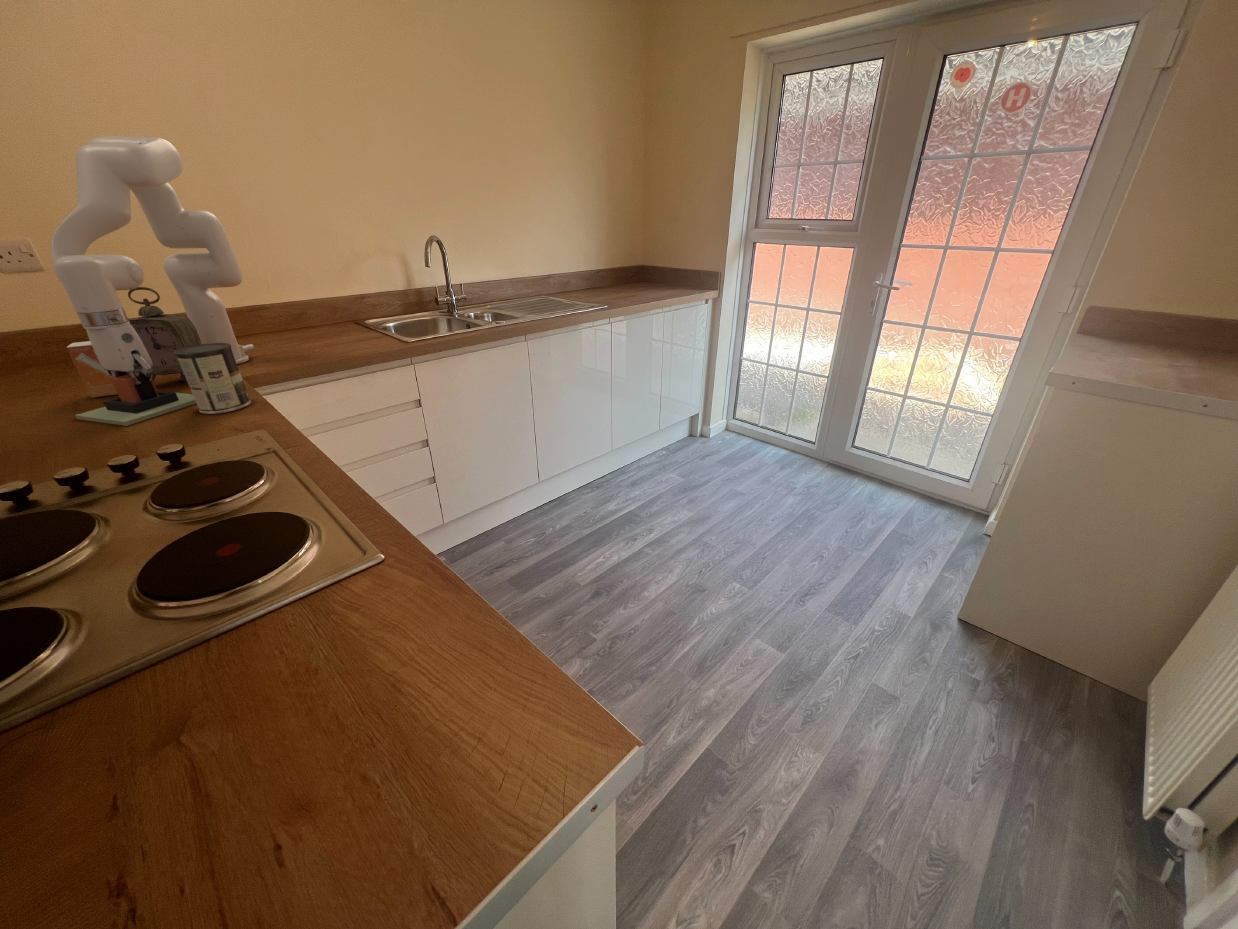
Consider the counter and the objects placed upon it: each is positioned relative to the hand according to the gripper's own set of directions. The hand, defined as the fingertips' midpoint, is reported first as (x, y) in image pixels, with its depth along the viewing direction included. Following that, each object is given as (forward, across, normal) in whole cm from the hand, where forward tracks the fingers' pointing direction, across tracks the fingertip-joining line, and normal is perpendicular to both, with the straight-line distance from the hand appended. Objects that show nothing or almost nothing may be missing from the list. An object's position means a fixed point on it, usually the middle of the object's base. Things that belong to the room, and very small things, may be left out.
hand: (140, 397), depth 117 cm
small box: (+3, +22, -7) cm, 23 cm away
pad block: (+1, 0, 0) cm, 1 cm away
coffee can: (+3, -17, -6) cm, 19 cm away
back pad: (+3, 0, 0) cm, 3 cm away
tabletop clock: (+3, +14, -18) cm, 23 cm away
